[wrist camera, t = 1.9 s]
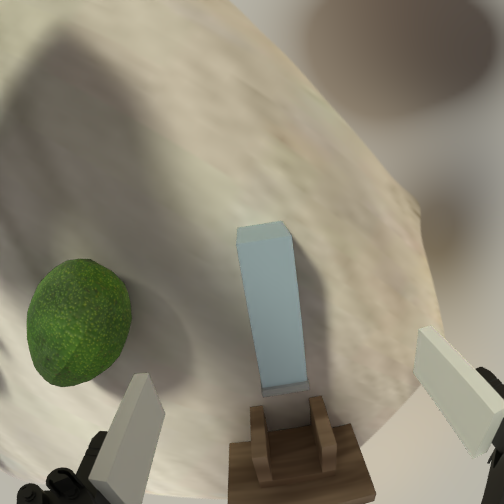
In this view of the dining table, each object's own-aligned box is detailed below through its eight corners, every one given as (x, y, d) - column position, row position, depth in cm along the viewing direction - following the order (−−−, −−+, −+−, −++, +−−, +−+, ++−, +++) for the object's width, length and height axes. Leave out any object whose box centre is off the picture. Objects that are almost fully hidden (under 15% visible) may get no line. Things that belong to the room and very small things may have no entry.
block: (236, 228, 29) (234, 245, 23) (282, 220, 29) (293, 236, 23) (259, 358, 32) (262, 397, 26) (299, 351, 32) (309, 389, 26)
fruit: (98, 375, 33) (66, 431, 23) (36, 323, 31) (-10, 366, 21) (165, 291, 30) (135, 345, 21) (89, 227, 28) (31, 255, 19)
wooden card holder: (218, 410, 34) (212, 491, 23) (351, 388, 34) (384, 462, 23) (232, 451, 37) (231, 524, 25) (349, 432, 36) (374, 500, 25)
